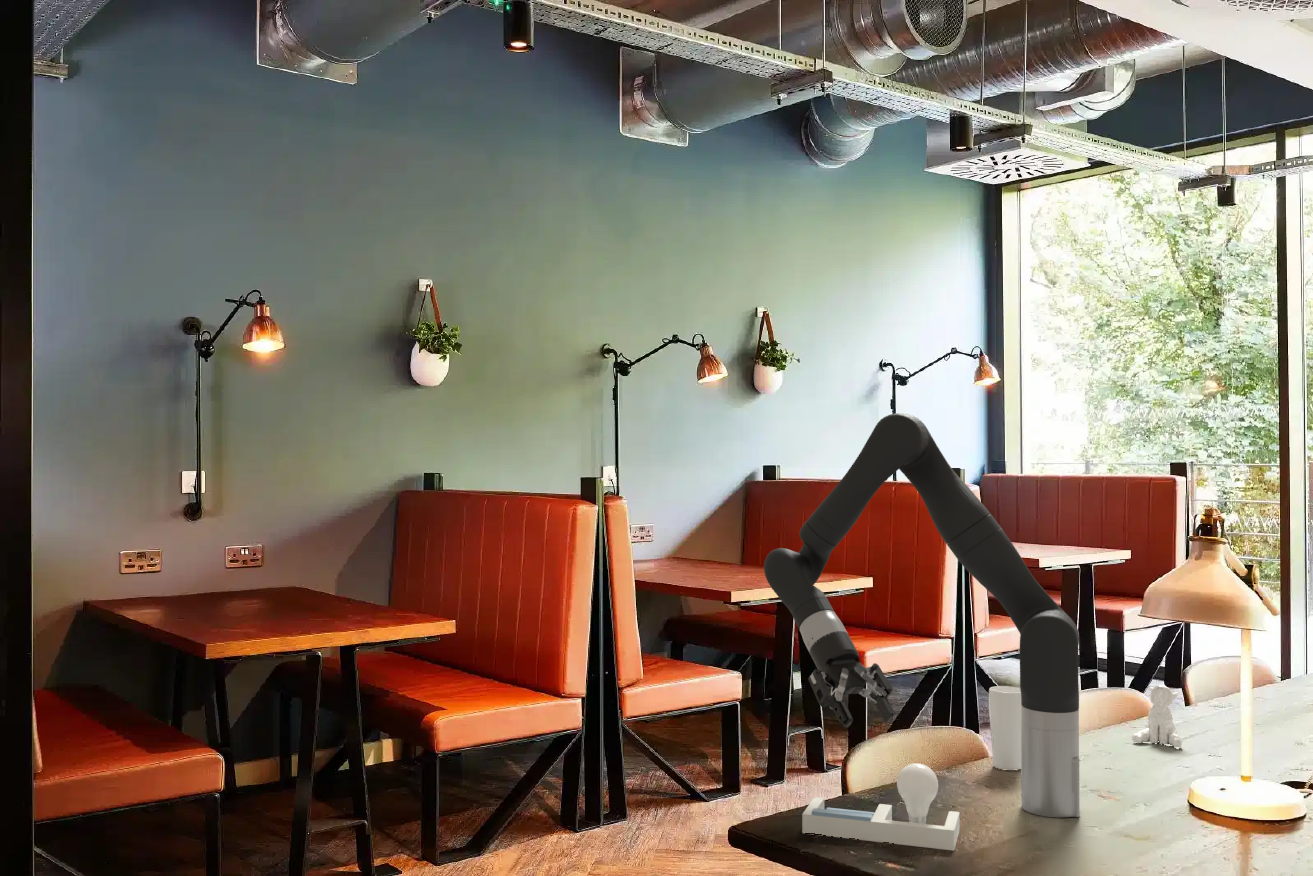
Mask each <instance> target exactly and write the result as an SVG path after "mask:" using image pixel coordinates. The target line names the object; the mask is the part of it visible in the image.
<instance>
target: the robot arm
mask: <svg viewBox="0 0 1313 876" xmlns="http://www.w3.org/2000/svg"><path fill="white" fill-rule="evenodd" d="M898 470H899V471H900V472H901V473H902V474H903V475H904V476H905V478H907V480H908V482H910V483H911V484H912V486H913V487H914V488H915V489H916V491H917V492H918V493H919V496H920V497H921V499H922V501H923V502H924V505H925V507H926V509H927V511H928V514H929V515H930V517H931V520H932V522H933V524H934V526H935V528H936V530H937V532H938V533H939V535H940V537H941V538H942V540H943V541H944V543H945V544H946V545H947V547H948V548H949V550H951V552H952V554H953V555H954V556H955V558H956V559H957V560H958V562H959V563H960V564H961V565H962V566H963V568H965V570H966V571H967V572H968V573H969V574H970V575H971V576H972V577H973V578H974V579H975V580H976V581H977V582H978V583H979V584H980V585H981V586H983V587H984V588H985V589H986V590H987V591H988V592H989V593H990V594H991V595H992V596H993V597H995V599H996V600H997V601H998V603H1000V605H1001V606H1002V607H1003V609H1004V611H1006V613H1007V614H1008V616H1009V618H1010V619H1011V621H1012V623H1013V624H1014V626H1015V627H1016V629H1017V631H1018V632H1019V634H1020V635H1019V688H1020V690H1021V769H1020V772H1021V776H1020V777H1021V779H1020V780H1021V783H1020V784H1021V787H1020V788H1021V793H1020V798H1021V799H1020V800H1021V802H1020V803H1021V804H1020V805H1021V808H1022V809H1023V810H1024V811H1025V812H1028V813H1030V814H1034V815H1036V816H1037V815H1038V816H1041V817H1047V818H1048V817H1050V818H1070V817H1073V818H1079V817H1081V816H1080V691H1079V689H1080V688H1079V687H1080V686H1079V685H1080V684H1079V645H1080V633H1079V629H1078V627H1077V625H1076V623H1075V622H1074V620H1073V619H1072V618H1071V617H1070V616H1069V615H1068V614H1067V613H1066V612H1065V611H1064V610H1063V608H1062V607H1061V606H1059V605H1058V603H1057V602H1056V601H1055V600H1054V599H1053V598H1052V597H1051V596H1050V595H1049V593H1047V592H1046V590H1045V589H1044V588H1043V587H1042V586H1041V585H1040V583H1039V582H1038V581H1037V580H1036V578H1035V577H1034V576H1033V575H1032V573H1031V571H1030V569H1029V568H1028V566H1027V564H1026V563H1025V560H1024V559H1023V558H1022V555H1020V553H1019V552H1018V550H1017V548H1016V547H1015V545H1014V544H1013V543H1012V541H1011V540H1010V537H1008V535H1007V534H1006V532H1005V531H1004V530H1003V528H1002V527H1001V525H1000V524H999V523H998V522H997V520H996V519H995V518H994V516H993V514H991V512H990V511H989V510H988V508H987V507H986V506H985V505H984V504H983V502H981V500H980V498H978V497H977V495H976V494H975V493H974V492H973V491H972V490H971V488H970V487H969V486H968V485H967V484H966V483H965V481H963V479H962V478H960V476H958V474H957V473H956V472H955V471H954V469H953V468H952V467H951V465H950V464H949V462H948V461H947V459H946V458H945V456H944V454H943V452H942V451H941V450H940V448H939V446H938V445H937V443H936V441H935V439H934V438H933V436H932V435H931V432H930V431H929V429H928V428H927V425H926V424H925V423H924V422H923V421H922V420H921V419H919V418H918V417H917V416H914V415H912V414H908V413H900V412H899V413H898V412H897V413H892V414H888V415H886V416H884V417H882V418H881V419H880V420H879V421H878V422H877V423H876V425H875V427H874V428H873V430H872V432H871V433H870V435H869V436H868V438H867V440H866V443H864V446H863V448H862V449H861V451H860V452H859V454H858V455H857V457H856V458H855V460H854V461H853V463H852V465H851V466H850V467H849V469H848V471H846V473H845V475H844V476H843V477H842V478H841V479H840V481H838V483H837V485H836V486H835V487H834V488H833V489H832V490H831V491H830V493H828V495H827V496H826V497H825V498H824V499H823V500H822V502H821V503H820V504H819V505H818V507H817V508H816V509H815V510H814V511H813V512H812V514H811V515H810V516H809V517H808V519H807V520H806V521H805V522H804V523H803V524H802V526H801V528H800V530H799V533H798V535H799V538H800V539H801V542H802V543H803V545H802V546H801V548H800V550H799V551H798V552H797V551H794V550H791V549H788V548H784V547H779V548H775V549H773V550H771V551H770V552H769V553H768V554H767V555H766V558H765V560H764V563H763V570H764V576H765V578H766V581H767V583H768V585H769V586H770V588H771V589H772V591H773V592H774V593H775V594H776V596H777V597H778V598H779V600H780V601H781V602H782V603H783V604H784V606H785V607H786V608H787V609H788V610H789V612H790V614H791V615H792V618H793V619H794V622H795V624H796V626H797V628H798V630H799V632H800V634H801V636H802V640H803V643H804V644H805V647H806V649H807V651H808V653H809V655H810V656H811V659H812V660H813V663H814V664H815V667H816V668H815V669H814V670H813V672H812V673H811V675H809V677H808V682H809V684H810V687H811V689H812V691H813V693H814V696H815V698H816V700H817V703H818V705H819V706H820V707H822V708H824V707H825V708H826V707H829V709H831V710H833V712H834V714H835V717H836V718H837V720H838V722H839V723H840V724H841V725H843V728H849V727H850V726H851V725H852V724H853V722H854V718H853V716H852V713H851V712H850V710H849V709H848V706H847V704H846V702H845V701H842V700H843V696H848V695H850V694H851V695H857V694H859V695H861V696H862V697H864V698H868V699H869V700H871V701H872V702H874V703H875V707H876V708H877V710H878V713H879V714H880V716H881V718H882V720H883V722H885V723H889V722H890V721H892V719H893V718H894V715H895V712H894V709H893V707H892V706H891V703H890V701H889V699H888V698H889V697H890V695H891V694H892V693H893V692H894V688H893V687H892V685H891V683H890V682H889V680H888V678H887V677H886V675H885V673H884V672H883V670H882V669H881V667H880V666H879V664H878V663H875V662H874V663H872V665H871V666H867V667H865V666H864V665H863V664H862V663H861V661H860V656H859V655H860V654H859V652H858V650H857V648H856V646H855V643H854V642H853V640H852V639H851V637H850V635H849V633H848V631H847V629H846V628H845V626H844V624H843V622H842V621H841V619H840V618H839V616H838V615H837V614H836V612H835V611H834V608H833V606H832V605H831V603H830V601H829V599H828V597H827V596H826V595H825V593H824V592H823V591H822V590H821V589H820V588H818V587H816V586H815V584H816V583H817V582H818V580H819V578H820V577H821V575H822V573H823V571H824V569H825V566H826V564H828V561H829V558H830V556H831V553H832V552H833V550H834V549H835V548H836V547H837V546H838V544H839V543H840V542H841V541H842V540H843V539H844V538H845V537H846V535H847V534H848V533H849V532H850V530H851V529H852V528H853V526H854V525H855V524H856V523H857V521H858V519H859V518H860V516H861V515H862V513H863V512H864V510H865V508H866V507H867V505H868V503H869V502H870V500H871V499H872V498H873V496H874V495H875V494H876V493H877V491H878V490H879V489H880V488H881V487H882V485H884V483H885V482H886V481H887V480H888V479H890V477H892V475H894V474H895V473H896V472H897V471H898ZM827 684H828V685H829V686H830V687H831V690H830V689H829V687H828V685H827ZM866 685H868V686H867V688H865V686H866ZM875 693H876V694H875Z"/></svg>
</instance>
